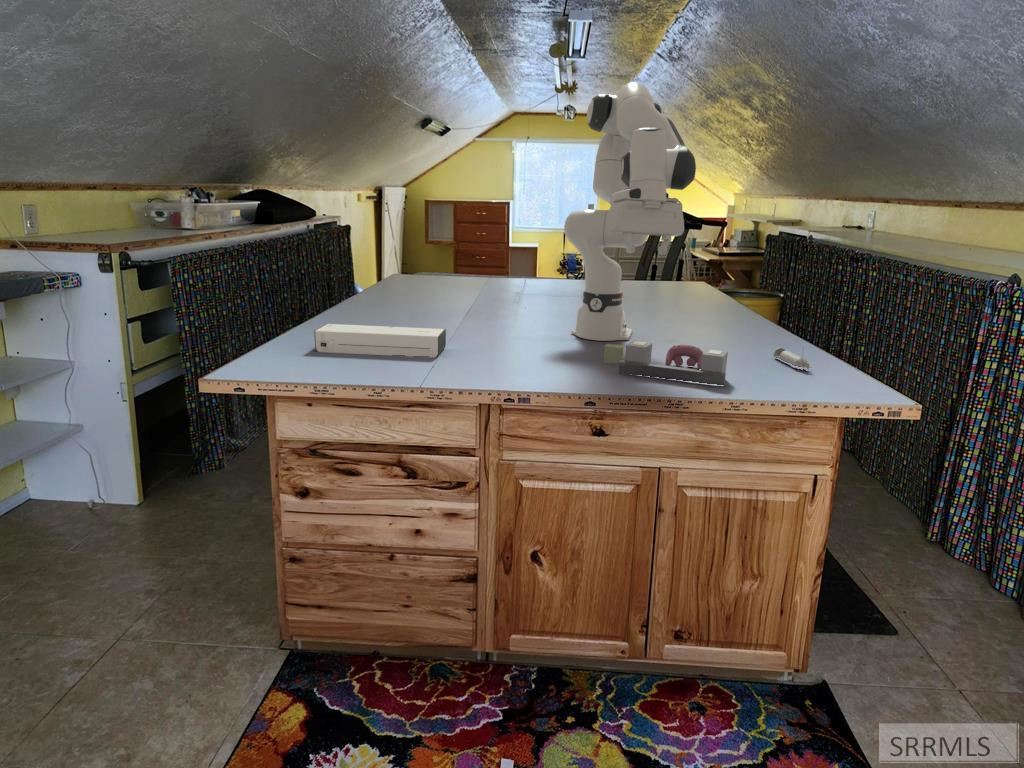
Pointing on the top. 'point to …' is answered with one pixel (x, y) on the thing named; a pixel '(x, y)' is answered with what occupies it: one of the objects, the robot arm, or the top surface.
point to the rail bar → (671, 372)
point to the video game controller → (684, 350)
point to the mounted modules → (710, 361)
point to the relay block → (613, 353)
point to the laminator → (380, 340)
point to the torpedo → (791, 358)
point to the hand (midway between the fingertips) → (646, 253)
